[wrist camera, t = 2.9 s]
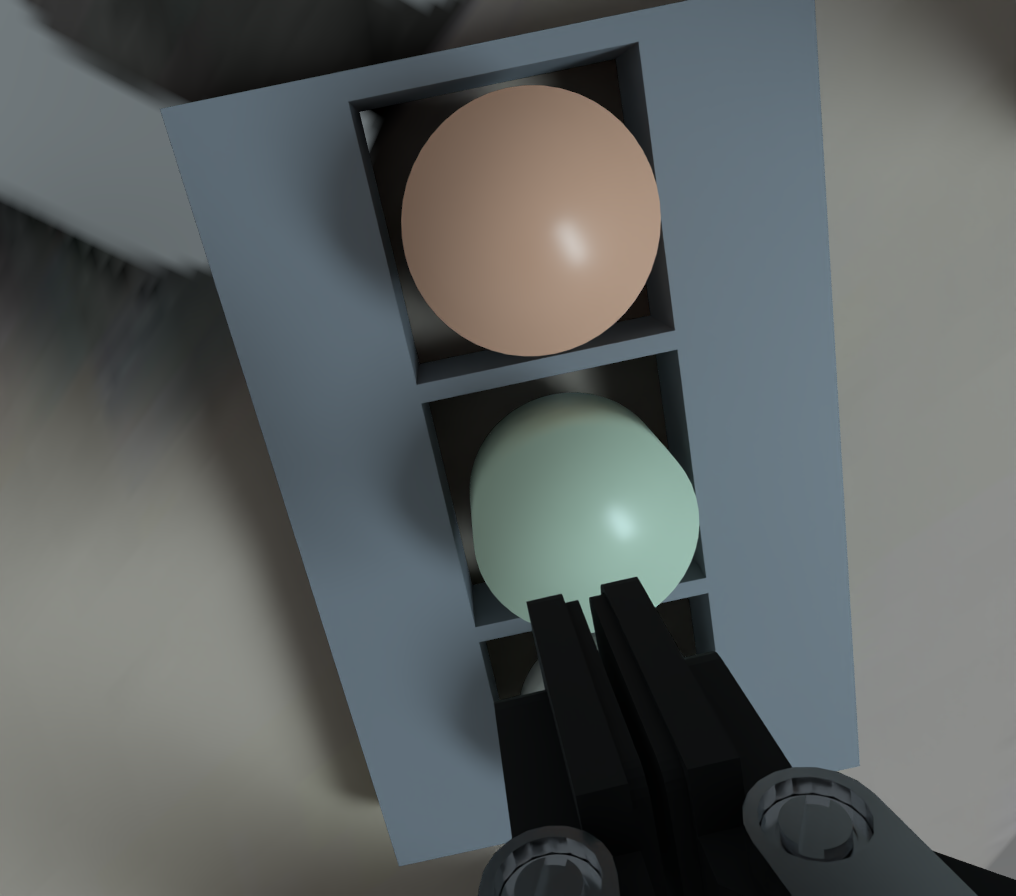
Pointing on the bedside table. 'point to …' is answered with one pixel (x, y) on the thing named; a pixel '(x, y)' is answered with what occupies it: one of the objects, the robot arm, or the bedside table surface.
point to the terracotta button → (531, 220)
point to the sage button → (578, 504)
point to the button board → (667, 333)
